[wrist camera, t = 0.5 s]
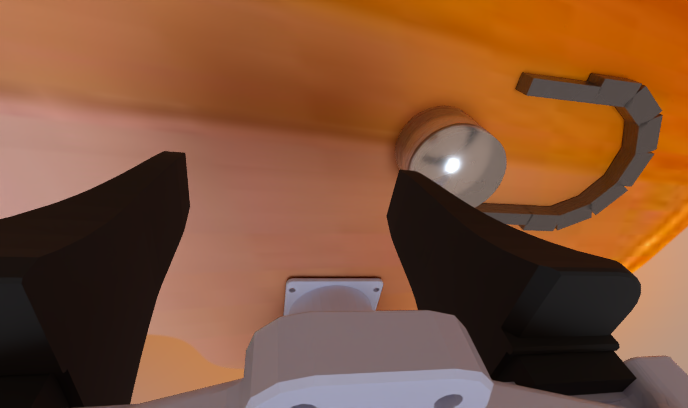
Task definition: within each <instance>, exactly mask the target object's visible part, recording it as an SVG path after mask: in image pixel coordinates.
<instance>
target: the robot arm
mask: <svg viewBox="0 0 688 408" xmlns="http://www.w3.org/2000/svg"><path fill="white" fill-rule="evenodd" d="M189 208H190V201H189V190H188V179H187V167H186V156H185V153H181V152H168V151H164V152H161V153H159V154H157V155H155V156H153V157H152V158H150V159H148V160H146V161H144V162H143V163H141V164H139V165H137V166H135V167H134V168H132V169H130V170H128V171H126V172H125V173H123V174H121V175H119V176H117V177H115V178H113V179H111V180H109V181H107V182H105V183H103V184H100V185H98V186H96V187H94V188H92V189H90V190H88V191H85V192H83V193H80V194H78V195H76V196H73V197H70V198H68V199H65V200H62V201H60V202H57V203H54V204H51V205H48V206H45V207H41V208H38V209H35V210H31V211H28V212H25V213H21V214H18V215H15V216H11V217H8V218H4V219H0V408H688V375H687V374H686V373H685V372H684V371H683V370H682V369H681V368H680V367H679V366H678V365H677V364H676V363H675V362H674V361H673V360H672V359H671V358H670V357H668V356H648V357H635V358H630V359H628V360H626V361H624V362H622V360H621V359H620V358H619V357H618V356H617V354H616V353H615V352H614V351H616V350H617V349H619V344H618V342H617V341H616V340H615V339H614V338H613V336H612V335H611V333H612V332H613V331H614V330H615V329H616V327H617V326H618V325H619V324H620V323H621V322H622V321H623V320H624V318H626V316H627V315H628V314H629V313H630V312H631V311H632V309H633V308H634V307H635V305H636V304H637V302H638V299H639V297H640V294H641V284H640V282H639V281H638V279H637V278H636V277H635V276H634V275H633V274H632V273H631V272H630V271H629V270H628V269H626V268H625V267H624V266H623V265H622V264H620V263H619V262H617V261H614V260H610V259H607V258H603V257H599V256H595V255H591V254H587V253H584V252H580V251H576V250H573V249H570V248H567V247H563V246H560V245H557V244H554V243H551V242H548V241H546V240H543V239H540V238H537V237H535V236H532V235H530V234H527V233H525V232H522V231H520V230H517V229H515V228H513V227H511V226H509V225H506V224H504V223H502V222H500V221H498V220H496V219H494V218H492V217H490V216H488V215H487V214H485V213H483V212H481V211H479V210H478V209H476V208H474V207H473V206H471V205H469V204H468V203H466V202H464V201H463V200H461V199H460V198H458V197H456V196H455V195H453V194H452V193H450V192H449V191H447V190H446V189H444V188H443V187H441V186H440V185H438V184H437V183H435V182H434V181H432V180H431V179H429V178H428V177H426V176H424V175H423V174H421V173H419V172H417V171H412V170H399V173H398V177H397V180H396V184H395V187H394V191H393V195H392V198H391V202H390V205H389V209H388V213H387V220H388V225H389V230H390V234H391V238H392V241H393V243H394V246H395V248H396V251H397V253H398V256H399V258H400V261H401V263H402V266H403V268H404V271H405V273H406V276H407V278H408V281H409V283H410V286H411V288H412V291H413V294H414V297H415V300H416V304H417V308H418V310H391V311H376V307H377V304H378V301H379V297H380V294H381V291H382V287H383V281H382V280H381V279H379V278H292V279H289V280H288V281H287V282H286V291H285V303H284V314H283V316H281V317H279V318H277V319H276V320H274V321H272V322H271V323H269V324H268V325H266V326H264V327H263V328H261V329H260V330H258V331H256V332H255V333H254V335H253V337H252V339H251V341H250V344H249V346H248V348H247V350H246V358H245V369H244V378H242V379H238V380H234V381H230V382H226V383H222V384H218V385H213V386H209V387H205V388H202V389H197V390H193V391H189V392H185V393H181V394H177V395H173V396H169V397H165V398H160V399H156V400H152V401H149V402H144V403H140V404H130V402H131V397H132V393H133V388H134V384H135V380H136V376H137V372H138V368H139V363H140V359H141V355H142V351H143V347H144V343H145V339H146V336H147V332H148V328H149V324H150V321H151V317H152V314H153V310H154V307H155V303H156V300H157V296H158V294H159V291H160V288H161V285H162V283H163V281H164V278H165V276H166V273H167V271H168V269H169V266H170V264H171V261H172V259H173V257H174V254H175V252H176V250H177V247H178V245H179V242H180V240H181V237H182V235H183V232H184V229H185V225H186V221H187V217H188V213H189ZM291 288H294V289H291Z"/></svg>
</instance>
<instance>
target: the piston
mask: <svg viewBox="0 0 688 408" xmlns="http://www.w3.org/2000/svg"><path fill="white" fill-rule="evenodd" d="M395 159H396V163H397V165H398V167H399V169H400V170H412V171H417V172H419V173H421V174H423V175H424V176H426V177H428V178H429V179H431V180H432V181H434V182H435V183H437V184H438V185H440V186H441V187H443V188H444V189H446V190H447V191H449V192H450V193H452V194H453V195H455V196H456V197H458V198H460V199H461V200H463V201H464V202H466V203H468V204H469V205H471V206H473V207H474V208H475V207H477V206H479V205H480V204H482V203H483V202H484V201H485V200H487V199H488V198H489V197H490V196H491V195H492V194H493V193H494V192H495V190H496V189H497V188H498V186H499V185H500V183H501V181H502V179H503V176H504V174H505V170H506V154H505V151H504V148H503V147H502V145H501V143H500V142H499V141H498V140H497V139H496V138H494V137H493V136H492V135H491V134H490V133H489V132H488V131H486V130H485V129H484V128H483V127H481V126H480V125H479V124H478V123H477V122H475V121H474V120H473V119H472V118H471V117H470V116H468V115H467V114H466V113H465V112H463V111H462V110H460V109H458V108H455V107H451V106H437V107H432V108H429V109H427V110H424V111H422V112H420V113H419V114H417V115H416V116H414V117H413V118H412V119H411V120H410V121H409V122H408V123H407V124H406V125H405V126H404V128H403V129H402V131H401V132H400V134H399V136H398V139H397V142H396V146H395Z"/></svg>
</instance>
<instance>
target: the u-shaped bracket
mask: <svg viewBox="0 0 688 408" xmlns="http://www.w3.org/2000/svg"><path fill="white" fill-rule="evenodd" d="M516 90H518V91H520V92H521V93H523V94H525V95H528V96H536V97H544V98H553V99H561V100H569V101H577V102H586V103H594V104H602V105H610V106H615V108H616V109H617V110H618V112H619V113H620V114H621V116H622V117H623V118H624V120H625V124H624V133H623V142H622V148H621V150H620V151H619V153H618V154H617V156H616V157H615V159H614V161H613V162H612V164H611V165H610V167H609V168H608V170H607V172H606V173H605V175H604V176H602V177H601V178H600V179H599V180H597V181H596V182H595V183H594V184H593V185H591V186H590V187H589V188H588V189H586V190H585V191H584V192H583V193H581V194H580V195H579V196H577V197H574V198H571V199H569V200H566V201H564V202H561V203H558V204H556V205H553V206H551V207H548V206H527V205H507V204H486V203H482V204H480V205H479V206H477V207H475V208H476V209H478V210H479V211H481V212H483V213H485V214H487V215H488V216H490V217H492V218H494V219H496V220H498V221H500V222H502V223H504V224H513V225H519V226H520V227H521V228H522V229H523V230H536V231H553V230H554V229H555V228H556V229H557V230H559V229H562V228H565V227H567V226H570V225H573V224H575V223H578V222H581V221H583V220H586V219H589V218H591V214H592V212H593V213H594V214H595V215H596V214H598V213H599V212H600V211H602V210H603V209H604V208H606V207H607V206H608V205H609V204H611V203H612V202H613V201H615V200H616V199H617V198H619V197H620V196H621V195H622V194H624V193H625V192H626V191H628V190H627V189H626V188H625V187H624V186H631V187H632V185H633V184H634V182H635V181H636V179H637V178H638V176H639V175H640V174H641V172H642V171H643V169H644V168H645V166H646V165H647V164H648V162H649V161H650V159H651V158H652V156H653V155H654V153H652V152H650V151H653V150H656V149H657V143H658V138H659V132H660V127H661V121H662V116H663V115H661V114H659V113H660V112H661V111H662V110H661V109H660V107H659V106H658V104H657V102H656V101H655V99H654V98H653V96H652V95H651V93H650V92H649V90H648V89H647V87H646V86H645V85H642V84H641V83H639V82H636V81H633V80H630V79H627V78H621V77H614V76H607V75H600V74H593V73H591V75H590V77H589V78H588V80H587V81H580V80H573V79H566V78H558V77H551V76H544V75H536V74H529V73H522V75H521V77H520V80H519V82H518V84H517V87H516Z"/></svg>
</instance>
